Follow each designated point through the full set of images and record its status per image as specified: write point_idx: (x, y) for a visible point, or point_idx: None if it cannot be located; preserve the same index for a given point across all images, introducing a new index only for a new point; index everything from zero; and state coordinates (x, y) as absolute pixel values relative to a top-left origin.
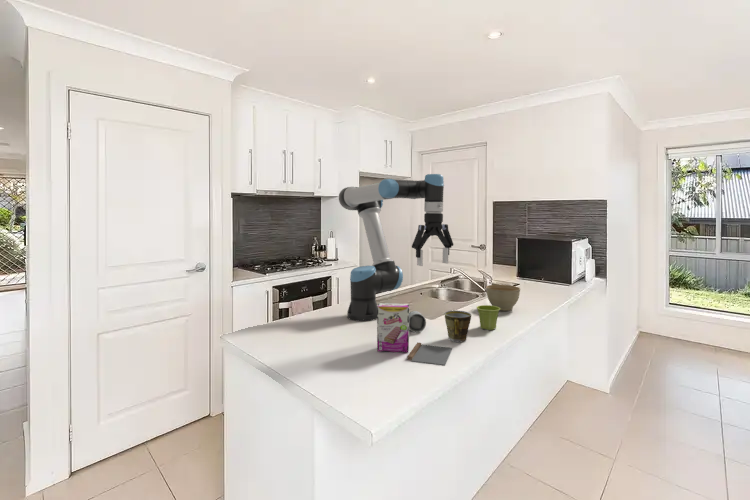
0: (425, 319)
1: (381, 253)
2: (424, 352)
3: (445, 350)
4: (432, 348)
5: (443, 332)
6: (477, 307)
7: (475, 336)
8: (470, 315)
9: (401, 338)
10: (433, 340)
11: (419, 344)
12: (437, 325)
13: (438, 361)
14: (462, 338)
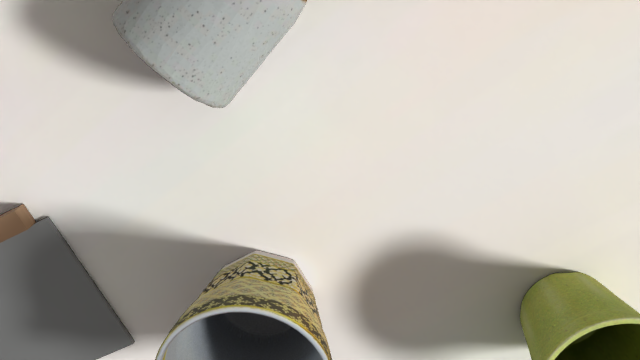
0: (221, 106)
1: None
2: None
3: (79, 340)
4: (48, 286)
5: (309, 173)
6: (582, 335)
7: (373, 330)
8: None
9: None
10: (153, 214)
11: (2, 236)
12: (408, 58)
13: None
14: (241, 342)
